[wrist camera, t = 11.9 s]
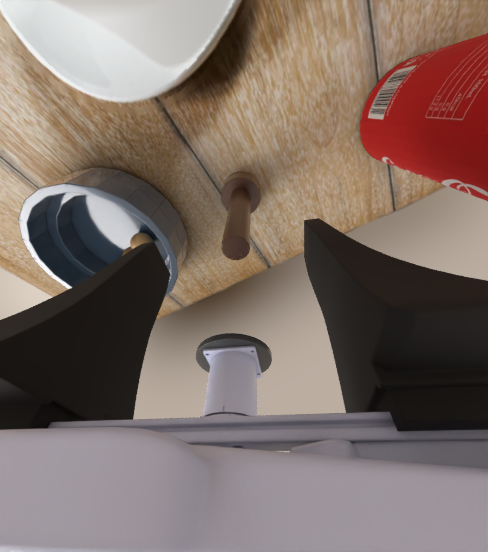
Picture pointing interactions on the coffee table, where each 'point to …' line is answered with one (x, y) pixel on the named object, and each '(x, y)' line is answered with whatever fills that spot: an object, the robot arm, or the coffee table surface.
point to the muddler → (239, 213)
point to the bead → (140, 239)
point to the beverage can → (434, 116)
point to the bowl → (98, 224)
